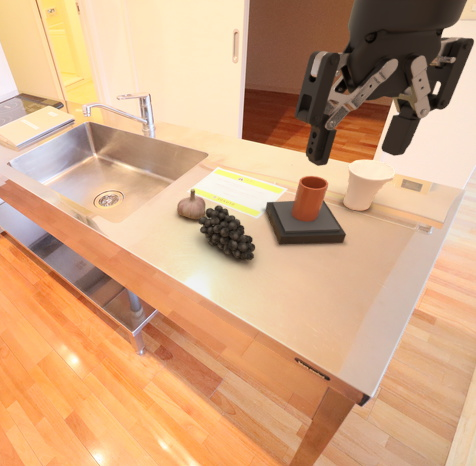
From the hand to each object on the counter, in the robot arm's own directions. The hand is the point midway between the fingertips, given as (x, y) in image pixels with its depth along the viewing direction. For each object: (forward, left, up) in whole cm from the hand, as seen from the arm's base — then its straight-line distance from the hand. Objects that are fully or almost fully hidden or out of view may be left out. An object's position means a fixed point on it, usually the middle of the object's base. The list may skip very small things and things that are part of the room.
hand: (354, 158), depth 34 cm
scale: (-10, -28, -33) cm, 45 cm away
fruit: (+8, -21, -33) cm, 40 cm away
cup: (-25, -35, -33) cm, 55 cm away
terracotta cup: (-10, -29, -30) cm, 43 cm away
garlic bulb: (+15, -34, -33) cm, 50 cm away
